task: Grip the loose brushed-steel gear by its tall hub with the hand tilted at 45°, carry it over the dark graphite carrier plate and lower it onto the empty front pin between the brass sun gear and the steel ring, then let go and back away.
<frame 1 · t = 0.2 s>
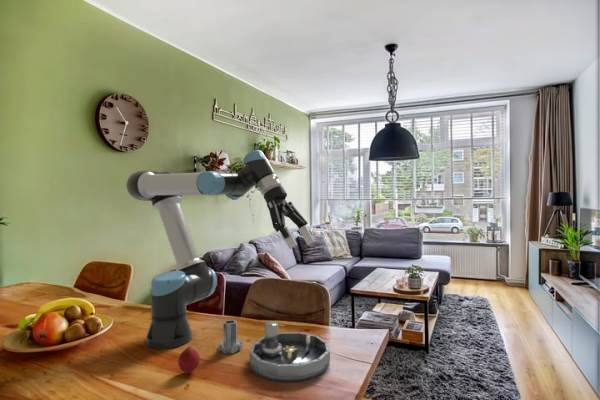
hand: (302, 245, 116), 35 cm above the table, tool tilted 35°, fingers open, 13 cm apart
planet gear: (230, 348, 119), on the table
carrier: (290, 361, 109), on the table
onion: (189, 374, 103), on the table
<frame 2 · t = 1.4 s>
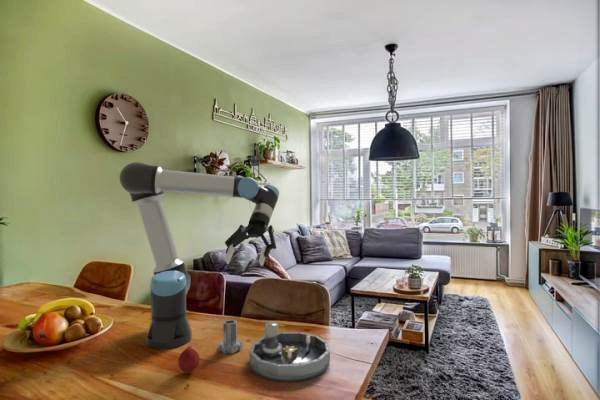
hand: (243, 262, 127), 27 cm above the table, tool tilted 45°, fingers open, 13 cm apart
nothing on the table moved.
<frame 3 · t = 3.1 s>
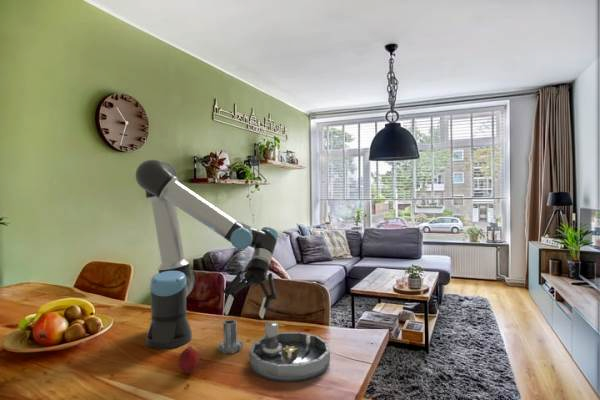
hand: (242, 315, 124), 10 cm above the table, tool tilted 45°, fingers open, 13 cm apart
nothing on the table moved.
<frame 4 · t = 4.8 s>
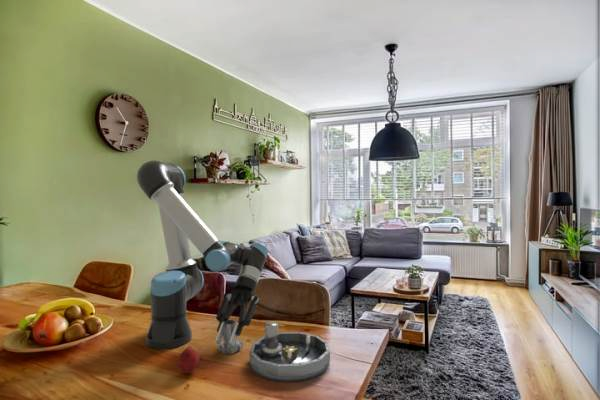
hand: (224, 343, 116), 3 cm above the table, tool tilted 45°, fingers closed on planet gear, 4 cm apart
planet gear: (230, 348, 119), on the table, touching gripper
everything else where it was.
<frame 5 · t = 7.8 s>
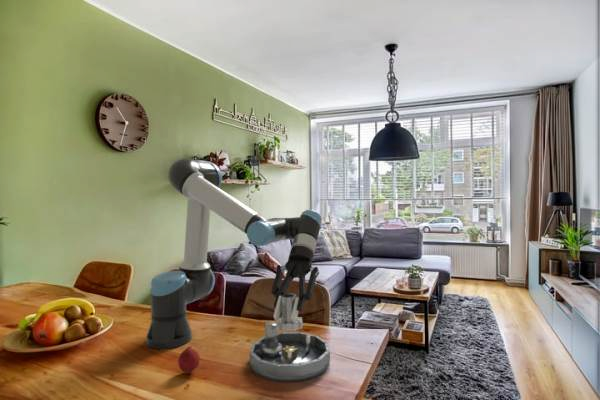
hand: (284, 319, 99), 16 cm above the table, tool tilted 45°, fingers closed on planet gear, 4 cm apart
planet gear: (289, 326, 103), point 13 cm above the table, touching gripper
everything else where it was.
when the fingers open (6 cm above the table, at t = 10.6 s): planet gear stays where it is, resting on carrier.
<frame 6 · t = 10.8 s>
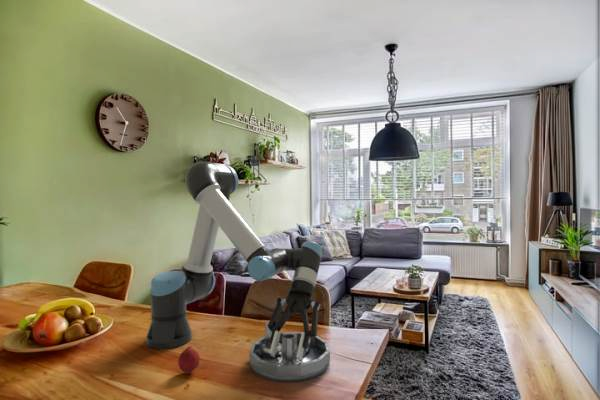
hand: (285, 356, 100), 6 cm above the table, tool tilted 45°, fingers open, 7 cm apart
planet gear: (289, 367, 103), point 1 cm above the table, touching carrier
everything else where it was.
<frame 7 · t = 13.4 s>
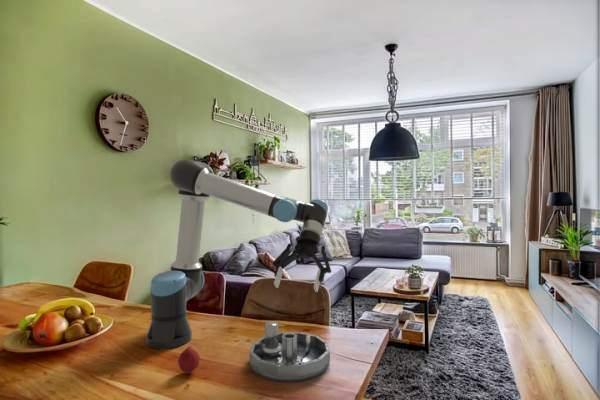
hand: (295, 287, 114), 21 cm above the table, tool tilted 45°, fingers open, 13 cm apart
nothing on the table moved.
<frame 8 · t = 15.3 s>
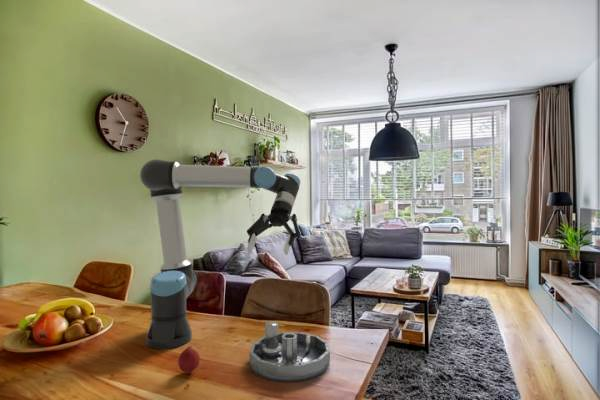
hand: (266, 251, 123), 32 cm above the table, tool tilted 45°, fingers open, 13 cm apart
nothing on the table moved.
at the end: planet gear 0.1 cm from the target spot on the carrier, point 1.5 cm above the carrier's base; planet gear tilted 0°; the gripper is holding nothing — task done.
